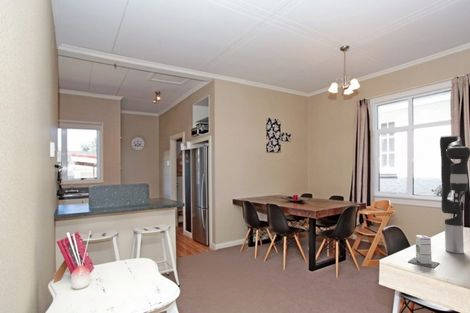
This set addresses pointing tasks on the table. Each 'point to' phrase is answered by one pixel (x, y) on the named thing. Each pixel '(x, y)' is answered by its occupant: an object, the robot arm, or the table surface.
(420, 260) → the syrup box
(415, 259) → the mat
